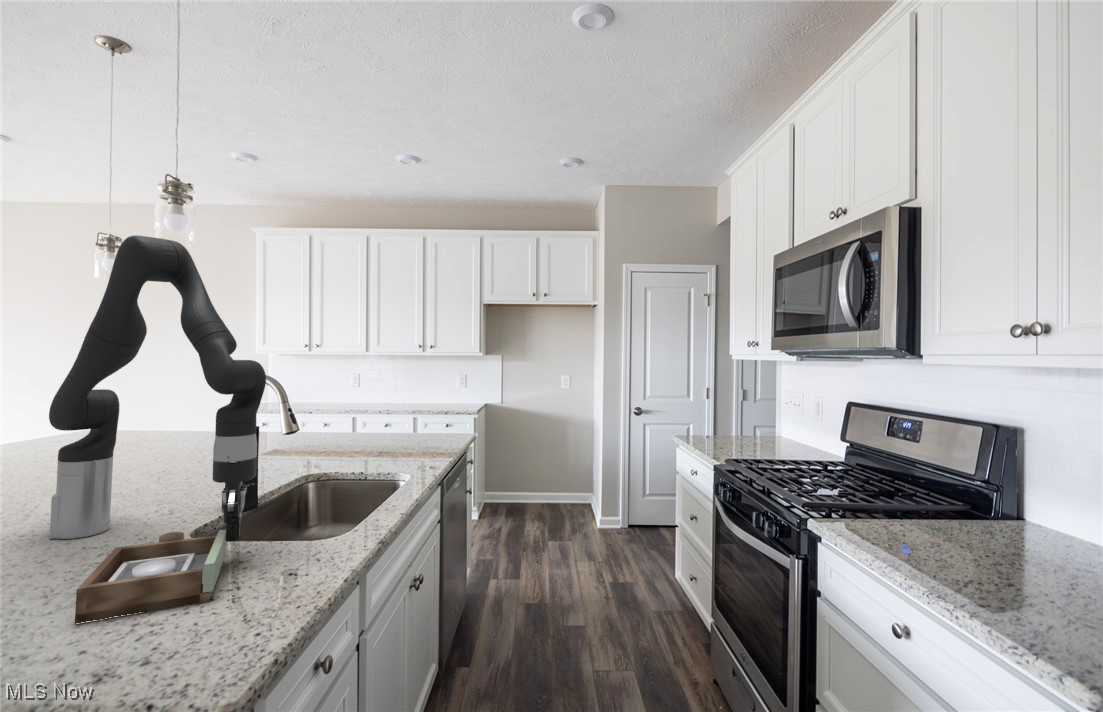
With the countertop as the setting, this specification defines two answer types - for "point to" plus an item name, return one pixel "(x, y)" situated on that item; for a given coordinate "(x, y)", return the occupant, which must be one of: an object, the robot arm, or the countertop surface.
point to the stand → (171, 536)
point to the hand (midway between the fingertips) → (232, 540)
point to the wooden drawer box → (142, 582)
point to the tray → (188, 563)
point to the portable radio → (251, 485)
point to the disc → (154, 568)
